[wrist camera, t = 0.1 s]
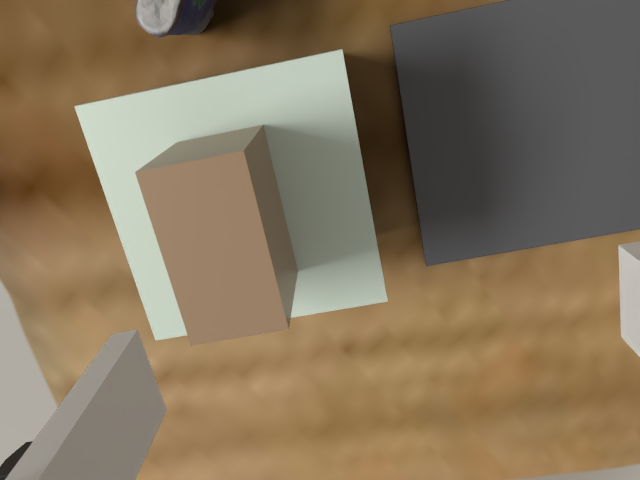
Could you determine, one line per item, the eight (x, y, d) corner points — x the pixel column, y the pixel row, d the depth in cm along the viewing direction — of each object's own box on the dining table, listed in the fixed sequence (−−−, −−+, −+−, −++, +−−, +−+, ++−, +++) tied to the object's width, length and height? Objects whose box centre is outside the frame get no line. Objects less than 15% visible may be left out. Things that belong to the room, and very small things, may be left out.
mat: (389, 25, 39) (390, 25, 38) (662, -33, 37) (666, -34, 37) (425, 263, 45) (426, 266, 44) (660, 222, 43) (664, 225, 43)
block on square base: (93, 100, 34) (4, 127, 25) (341, 47, 32) (343, 55, 23) (167, 320, 39) (115, 409, 30) (384, 283, 37) (399, 365, 28)
